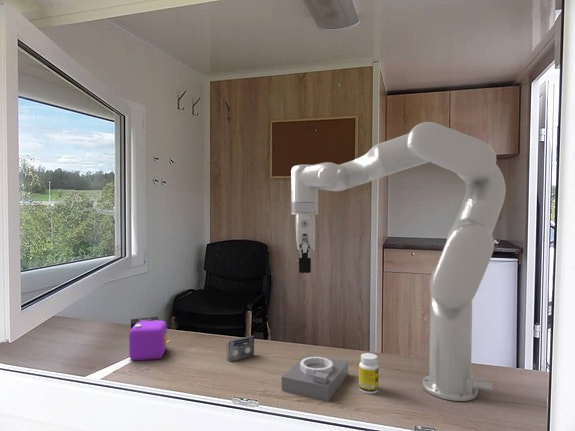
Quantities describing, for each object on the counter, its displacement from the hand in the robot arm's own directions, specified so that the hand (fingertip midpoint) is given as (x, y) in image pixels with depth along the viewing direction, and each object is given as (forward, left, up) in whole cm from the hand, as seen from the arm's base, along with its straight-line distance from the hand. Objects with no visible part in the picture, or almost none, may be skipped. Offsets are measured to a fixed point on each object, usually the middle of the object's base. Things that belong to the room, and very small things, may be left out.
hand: (304, 269), depth 110 cm
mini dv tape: (+19, +4, -28) cm, 34 cm away
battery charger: (+62, -1, -28) cm, 68 cm away
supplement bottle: (-20, +7, -27) cm, 35 cm away
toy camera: (+46, +13, -28) cm, 55 cm away
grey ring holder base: (-7, +9, -27) cm, 29 cm away
